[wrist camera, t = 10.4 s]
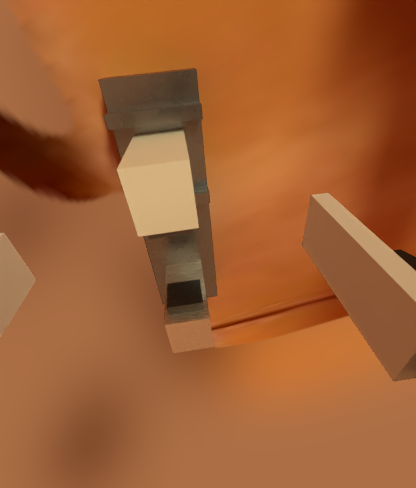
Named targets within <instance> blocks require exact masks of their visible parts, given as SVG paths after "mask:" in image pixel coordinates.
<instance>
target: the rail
mask: <svg viewBox="0 0 416 488" xmlns="http://www.w3.org/2000/svg"><path fill="white" fill-rule="evenodd" d="M98 81H99V84H100V88H101V91H102V95H103V98H104V101H105V105H106V108H107V113H105V114H104V115H103V116H104V119H105V123H106V126H107V129H108V130H113V133H114V136H115V140H116V143H117V147H118V150H119V154H120V157H121V160H122V158H123V156H124V154H125V152H126V150H127V148H128V146H129V144H130V142H131V140H132V138H133V136H134V135H139V134H146V133H154V132H162V131H169V130H177V129H183V130H184V135H185V140H186V145H187V150H188V155H189V160H190V167H191V174H192V181H193V189H194V196H195V203H196V210H197V217H198V224H199V228H195V229H193V231H194V233H191V234H184V235H177V236H171V237H164V238H157V239H151V240H149V238H148V236H143V237H144V240H145V244H146V247H147V250H148V254H149V257H150V261H151V264H152V268H153V272H154V275H155V278H156V282H157V285H158V289H159V292H160V296H161V299H162V303H163V304H165V318H164V326H165V329H166V332H167V335H168V338H169V342H170V345H171V349H172V352H173V353H179V352H185V351H191V350H197V349H204V348H210V347H213V339H212V331H211V323H210V316H209V310H208V303H207V297H214V296H217V286H216V275H215V264H214V253H213V243H212V232H211V221H210V210H209V203H210V195H209V190H208V187H207V178H206V167H205V156H204V146H203V135H202V124H201V119H203V117H202V106H201V103H200V101H199V92H198V81H197V70H196V69H195V68H192V69H182V70H173V71H164V72H155V73H145V74H136V75H127V76H118V77H108V78H103V79H99V80H98Z"/></svg>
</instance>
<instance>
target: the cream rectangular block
mask: <svg viewBox="0 0 416 488" xmlns="http://www.w3.org/2000/svg"><path fill="white" fill-rule="evenodd" d="M117 172H118V175H119V178H120V181H121V184H122V187H123V191H124V194H125V197H126V200H127V203H128V206H129V209H130V213H131V216H132V219H133V222H134V225H135V228H136V232H137V234H138V237H140V236H148V238H149V240H151V239H157V238H164V237H171V236H177V235H184V234H191V233H194V231H193V229H195V228H199V224H198V217H197V210H196V203H195V196H194V189H193V181H192V174H191V167H190V160H189V155H188V150H187V145H186V140H185V135H184V130H183V129H177V130H169V131H162V132H154V133H146V134H139V135H134V136H133V138H132V140H131V142H130V144H129V146H128V148H127V150H126V152H125V154H124V156H123V158H122V160H121V162H120V164H119V166H118V168H117Z"/></svg>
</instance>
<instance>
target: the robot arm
mask: <svg viewBox="0 0 416 488" xmlns="http://www.w3.org/2000/svg"><path fill="white" fill-rule="evenodd" d="M302 246H303V247H304V249H305V250H306V252H307V253H308V255H309V256H310V258H311V259H312V261H313V262H314V264H315V265H316V267H317V268H318V270H319V271H320V273H321V274H322V276H323V277H324V279H325V280H326V282H327V283H328V285H329V286H330V288H331V289H332V291H333V292H334V294H335V295H336V297H337V298H338V300H339V301H340V303H341V304H342V306H343V307H344V308H345V310H346V311H347V313H348V314H349V316H350V317H351V319H352V320H353V322H354V323H355V325H356V326H357V328H358V329H359V331H360V332H361V334H362V335H363V337H364V338H365V340H366V341H367V343H368V344H369V345H370V347H371V349H372V350H373V352H374V353H375V355H376V356H377V358H378V359H379V361H380V362H381V364H382V365H383V366H384V368H385V370H386V371H387V373H388V374H389V375H390V377H391V378H392V380H393V381H398V380H406V379H412V378H416V257H414V256H412V255H410V254H408V253H406V252H404V251H402V250H392V249H391V248H390V247H388V246H387V245H386V244H385V243H384V242H383V241H382V240H381V239H379V238H378V237H377V236H376V235H375V234H374V233H373V232H372V231H370V230H369V229H368V228H367V227H366V226H365V225H364V224H363V223H361V222H360V221H359V220H358V219H357V218H356V217H355V216H354V215H353V214H351V213H350V212H349V211H348V210H347V209H346V208H345V207H344V206H342V205H341V204H340V203H339V202H338V201H337V200H336V199H335V198H333V197H332V196H331V195H330V194H329V193H322V194H314V195H311V197H310V203H309V209H308V214H307V220H306V226H305V232H304V237H303V243H302ZM35 281H36V278H35V277H34V276H33V274H32V273H31V271H30V270H29V268H28V267H27V265H26V264H25V263H24V261H23V260H22V258H21V257H20V255H19V254H18V252H17V251H16V250H15V248H14V247H13V245H12V244H11V242H10V241H9V239H8V238H7V236H6V235H5V234H4V233H0V337H1V335H2V334H3V332H4V330H5V329H6V327H7V326H8V324H9V323H10V321H11V319H12V318H13V316H14V315H15V313H16V312H17V310H18V308H19V307H20V305H21V304H22V302H23V300H24V299H25V297H26V296H27V294H28V292H29V291H30V289H31V288H32V286H33V284H34V283H35Z"/></svg>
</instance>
